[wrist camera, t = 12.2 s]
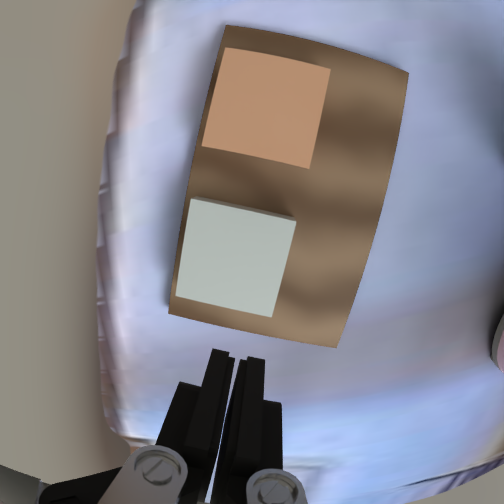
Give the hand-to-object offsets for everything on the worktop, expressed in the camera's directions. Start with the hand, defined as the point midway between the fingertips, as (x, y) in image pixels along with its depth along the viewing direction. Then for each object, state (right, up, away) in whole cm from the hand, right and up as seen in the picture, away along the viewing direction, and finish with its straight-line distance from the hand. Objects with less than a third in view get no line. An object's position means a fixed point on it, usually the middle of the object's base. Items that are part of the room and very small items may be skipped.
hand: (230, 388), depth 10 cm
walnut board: (+4, +10, +16) cm, 19 cm away
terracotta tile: (+6, +14, +13) cm, 20 cm away
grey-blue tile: (+3, +3, +16) cm, 17 cm away
